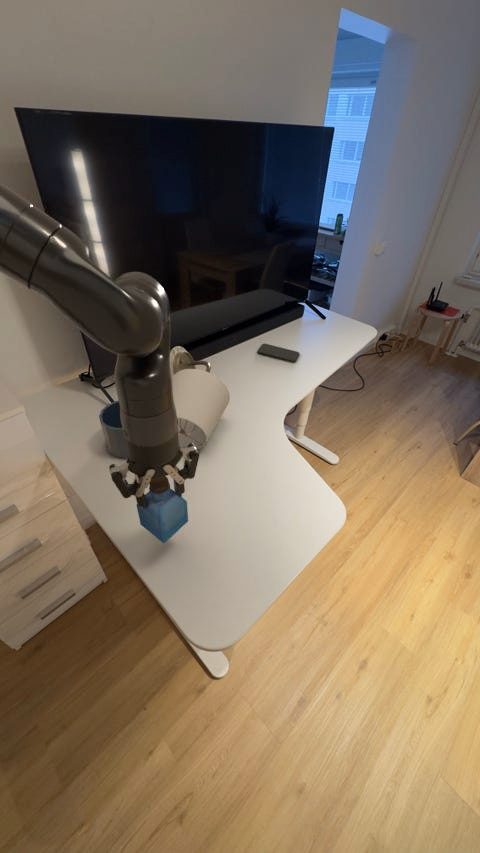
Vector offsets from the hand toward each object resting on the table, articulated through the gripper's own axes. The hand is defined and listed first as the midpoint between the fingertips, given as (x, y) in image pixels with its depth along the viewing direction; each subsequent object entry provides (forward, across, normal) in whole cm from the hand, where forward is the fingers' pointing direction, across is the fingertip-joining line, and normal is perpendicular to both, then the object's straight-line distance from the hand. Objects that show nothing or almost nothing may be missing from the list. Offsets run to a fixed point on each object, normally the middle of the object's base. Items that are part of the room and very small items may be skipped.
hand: (161, 498), depth 60 cm
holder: (+15, +1, -32) cm, 36 cm away
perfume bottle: (+8, 0, 0) cm, 8 cm away
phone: (+15, -60, -60) cm, 86 cm away
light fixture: (+15, -19, -38) cm, 45 cm away
